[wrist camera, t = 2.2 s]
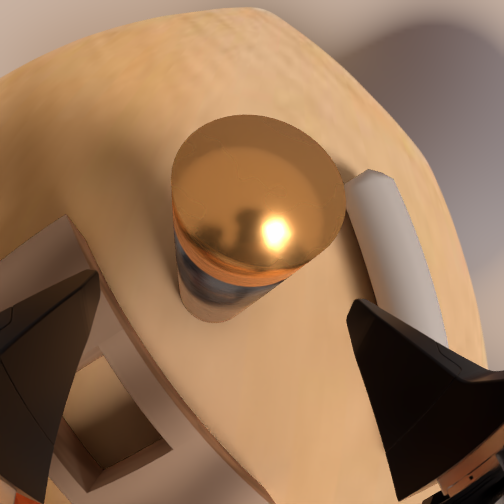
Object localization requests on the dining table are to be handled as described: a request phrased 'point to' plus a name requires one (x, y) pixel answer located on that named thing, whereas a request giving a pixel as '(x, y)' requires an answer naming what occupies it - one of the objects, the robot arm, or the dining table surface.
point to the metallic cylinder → (249, 211)
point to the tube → (393, 253)
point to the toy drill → (23, 500)
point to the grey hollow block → (140, 389)
